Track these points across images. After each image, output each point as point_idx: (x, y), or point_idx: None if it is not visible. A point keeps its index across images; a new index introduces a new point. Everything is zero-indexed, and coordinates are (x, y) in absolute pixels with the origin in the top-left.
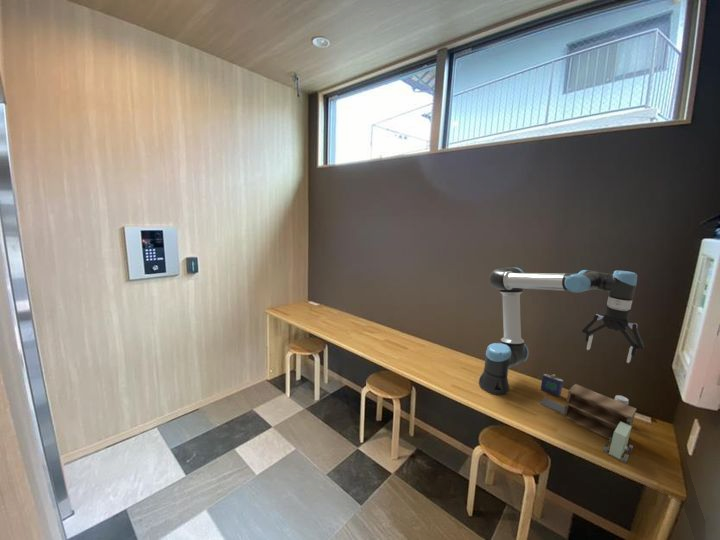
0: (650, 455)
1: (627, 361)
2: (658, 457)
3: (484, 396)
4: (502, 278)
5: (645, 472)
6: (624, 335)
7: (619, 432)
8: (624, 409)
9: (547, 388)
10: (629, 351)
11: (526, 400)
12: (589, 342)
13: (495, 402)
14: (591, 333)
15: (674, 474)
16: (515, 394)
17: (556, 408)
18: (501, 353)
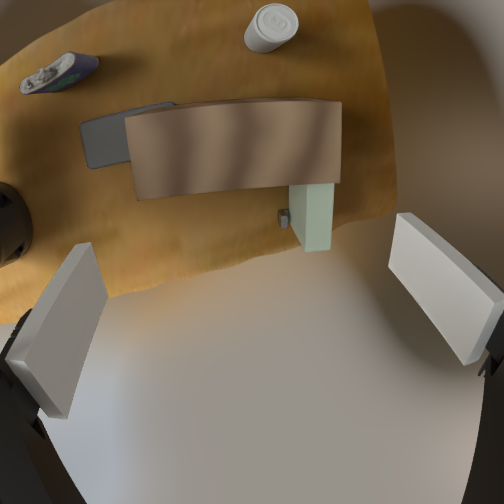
0: (352, 135)
1: (397, 271)
2: (364, 128)
3: (29, 278)
4: None
5: (350, 212)
6: (466, 497)
7: (315, 244)
8: (315, 150)
9: (60, 87)
10: (444, 335)
11: (66, 192)
12: (83, 354)
13: (52, 276)
14: (51, 449)
15: (389, 165)
16: (38, 195)
17: (127, 150)
18: None
